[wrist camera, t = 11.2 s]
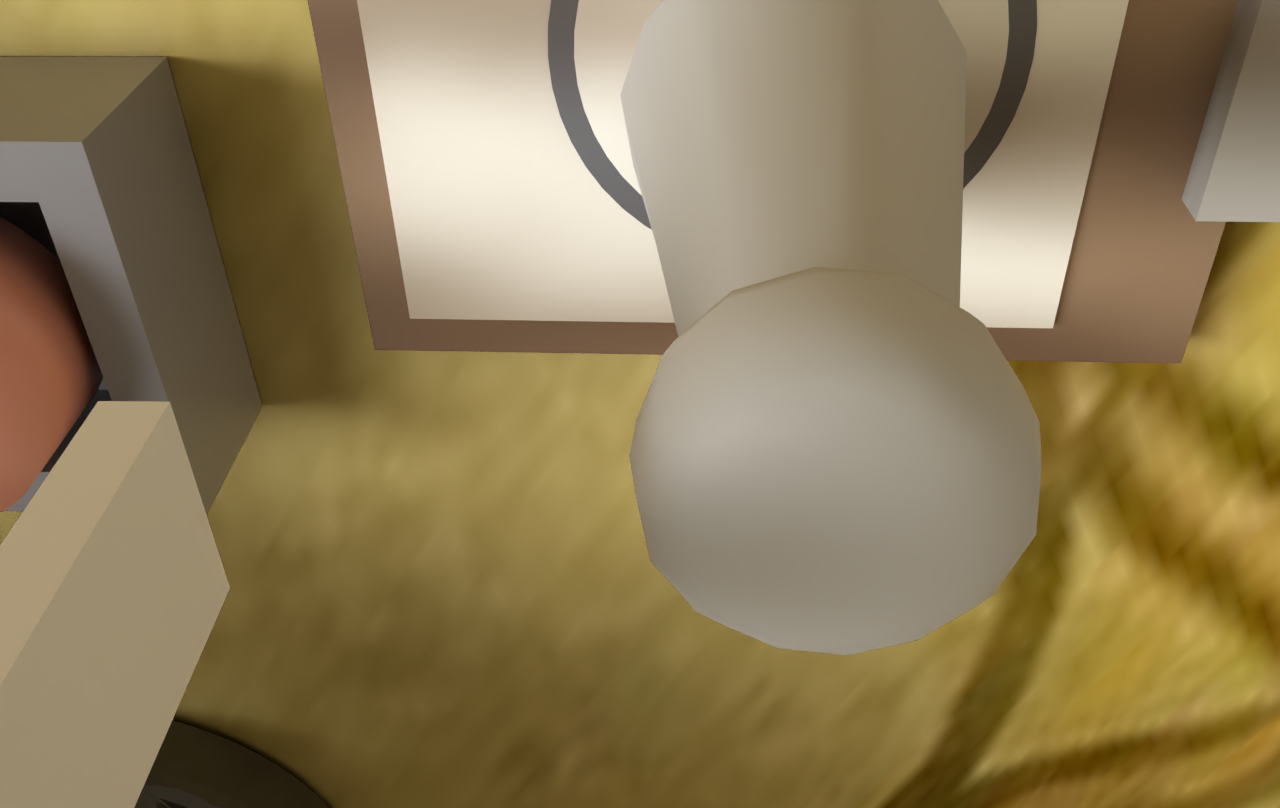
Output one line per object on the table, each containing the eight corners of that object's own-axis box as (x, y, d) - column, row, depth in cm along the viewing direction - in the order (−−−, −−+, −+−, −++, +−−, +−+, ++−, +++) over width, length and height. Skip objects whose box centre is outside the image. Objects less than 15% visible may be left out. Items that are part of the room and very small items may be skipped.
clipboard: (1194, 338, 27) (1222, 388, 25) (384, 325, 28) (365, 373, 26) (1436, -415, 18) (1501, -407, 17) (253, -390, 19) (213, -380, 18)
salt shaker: (609, -84, 21) (492, 335, 10) (944, -133, 20) (1180, 270, 10) (657, 213, 24) (605, 747, 14) (944, 181, 23) (1117, 724, 13)
